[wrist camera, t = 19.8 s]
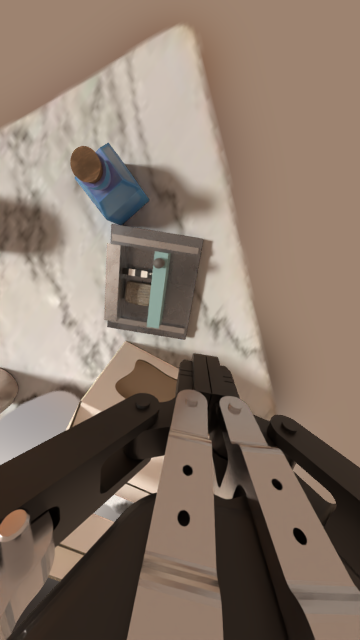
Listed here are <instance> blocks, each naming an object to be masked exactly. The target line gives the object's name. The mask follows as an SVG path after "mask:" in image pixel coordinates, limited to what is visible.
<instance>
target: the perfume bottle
mask: <svg viewBox="0 0 360 640" xmlns="http://www.w3.org/2000/svg"><path fill="white" fill-rule="evenodd" d="M71 168H72V171H73V173H74V175H75V179H76V181H77V182H78V183H79V184H80V186H81V187H82V188H83V190H84V191H85V192H86V194H87V195H88V196H89V197H90V199H91V200H92V201H93V203H94V204H95V205H96V207H97V208H98V209H99V210H100V212H101V213H102V214H103V216H104V217H105V218H106V220H108V221H111V222H113V223H116V224H118V225H123V224H124V223H125V222H126V221H127V220H128V219H129V218H130V217H132V216H133V215H134V214H135V213H136V212H137V211H138V210H139V209H140V208H142V207H143V206H144V205H145V204H146V203H147V202H148V201H149V199H148V197H147V196H146V194H145V193H144V191H143V190H142V189H141V187H140V186H139V184H138V183H137V181H136V180H135V179H134V177H133V176H132V174H131V173H130V171H129V170H128V169H127V167H126V166H125V164H124V163H123V162H122V160H121V159H120V157H119V156H118V155H117V153H116V152H115V151H114V149H113V148H112V147H111V145H110V144H109V143H107V144H105V145H104V146H102V147H100V148H99V149H98V150H97V151H96V152H94V151H93V150H92V149H91V148H89V147H86V146H81V147H78V148H77V149H75V150H74V152H73V153H72V156H71Z"/></svg>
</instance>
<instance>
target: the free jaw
mask: <svg viewBox="0 0 360 640" xmlns="http://www.w3.org/2000/svg"><path fill="white" fill-rule="evenodd" d="M170 256H171V253H165V252H159V251H155V254H154V262H153V273H152V282H151V291H150V300H149V310H148V319H147V327H152V328H158V329H159V326H160V324H161V322H162V316H163V309H164V301H165V294H166V286H167V279H168V271H169V264H170Z"/></svg>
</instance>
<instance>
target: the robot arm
mask: <svg viewBox="0 0 360 640" xmlns="http://www.w3.org/2000/svg"><path fill="white" fill-rule="evenodd" d="M17 393H18V385H17V383H16V381H15V379H14V378H13V377H12V376H11V375H10V374H9V373H8V372H6V371H5V370H3V369H1V368H0V413H1V412H3V411H4V410H5V409H6V408H7V407H8V406H10V405H11V404H12V403H13V402H14V400H13V399H14V398H15V397H16V395H17ZM208 434H209V439H208ZM164 455H165V456H164ZM159 456H164V461H163V466H162V471H161V475H160V480H159V485H158V490H157V492H156V493H153V494H150V495H147V496H145V497H143V498H141V499H139V500H138V501H136V502H135V503H133V504H132V505H131V506H130V507H129V508H127V509H126V510H125V511H124V512H123V513H122V514H121V515H120V517H119V518H118V519H117V520H116V521H115V522H114V523H113V524H112V525H111V526H110V527H109V529H108V530H107V531H106V532H105V533H104V534H103V535H102V536H101V537H100V538H99V539H98V540H97V542H96V543H95V544H94V545H93V546H92V547H91V548H90V549H89V550H88V551H87V552H86V554H85V555H84V556H83V557H82V558H81V559H80V560H79V561H78V562H77V563H76V564H75V565H74V567H73V568H72V569H71V570H70V571H69V572H68V573H67V574H66V575H65V576H64V577H63V579H62V580H61V581H60V582H59V583H58V584H57V585H56V586H55V587H54V589H52V591H51V592H50V593H49V594H48V595H47V596H46V597H45V598H44V599H43V600H42V601H41V602H40V604H39V605H38V606H37V607H36V608H35V609H34V610H33V611H32V612H31V613H30V614H29V615H28V617H27V618H26V619H25V620H24V621H23V622H22V623H21V624H20V625H19V626H18V627H17V629H16V630H15V631H14V632H13V633H12V634H11V632H12V630H13V628H14V626H15V624H16V622H17V620H18V618H19V617H20V615H21V613H22V612H23V611H24V609H25V608H26V606H27V605H28V604H29V603H30V601H31V600H32V599H33V598H34V597H35V595H36V594H37V593H38V592H39V590H40V589H41V588H42V586H43V585H44V583H45V581H46V579H47V578H48V575H49V573H50V571H51V568H52V565H53V562H54V557H55V547H57V546H58V545H59V544H60V543H61V542H62V541H63V540H64V539H65V538H66V537H68V536H69V535H70V534H71V533H72V532H73V531H74V530H75V529H76V528H78V527H79V526H80V525H81V524H82V523H83V522H84V521H85V520H86V519H87V518H89V517H90V516H91V515H92V514H93V513H94V512H95V511H96V510H97V509H98V508H100V507H101V506H102V505H103V504H104V503H105V502H106V501H107V500H108V499H110V498H111V497H112V496H113V495H114V494H115V493H116V492H117V491H118V490H119V489H121V488H122V487H123V486H124V485H125V484H126V483H127V482H128V481H129V480H130V479H132V478H133V477H134V476H135V475H136V474H137V473H138V472H139V471H140V470H142V469H143V468H144V467H145V466H146V465H147V464H148V463H149V462H150V460H151V458H153V457H159ZM296 463H297V464H298V465H299V466H301V467H302V468H303V469H304V470H305V471H306V472H308V473H309V474H310V475H311V476H312V477H313V478H314V479H315V480H317V481H318V482H319V483H320V484H321V485H322V486H323V487H325V488H326V489H327V490H328V491H329V492H330V493H331V494H332V496H333V497H334V499H335V501H336V504H331V503H329V502H327V501H325V500H324V499H323V498H322V497H321V496H320V495H319V494H317V493H316V492H315V491H314V490H313V489H312V488H311V487H310V486H309V485H308V484H306V482H304V481H303V480H302V479H301V478H300V477H299V476H298V475H297V474H296V473H295V472H293V468H294V466H295V464H296ZM213 486H214V490H213ZM214 493H215V494H214ZM0 640H360V468H359V467H358V466H356V465H355V464H354V463H352V462H351V461H350V460H348V459H347V458H346V457H344V456H343V455H341V454H340V453H339V452H337V451H336V450H334V449H333V448H332V447H330V446H329V445H328V444H326V443H325V442H323V441H322V440H321V439H319V438H318V437H317V436H315V435H314V434H312V433H311V432H310V431H308V430H307V429H305V428H304V427H303V426H301V425H300V424H299V423H297V422H296V421H294V420H293V419H291V418H289V417H286V416H283V415H274V416H273V417H272V418H271V420H270V421H267V420H265V419H262V418H260V417H257V416H255V415H253V414H252V412H251V410H250V408H249V406H248V405H247V404H246V403H245V402H244V401H243V400H241V399H240V398H239V395H238V392H237V389H236V386H235V384H234V380H233V379H232V375H231V372H230V371H229V370H228V369H227V368H226V367H225V366H220V363H219V360H218V357H214V356H208V355H201V354H195V353H193V355H192V360H191V361H188V360H183V361H182V362H181V363H180V367H179V372H178V378H177V384H176V392H175V398H173V399H172V400H170V401H166V402H159V400H158V399H157V398H156V397H155V396H153V395H151V394H148V393H137V394H134V395H132V396H130V397H128V398H126V399H125V400H123V401H121V402H119V403H117V404H115V405H113V406H111V407H109V408H108V409H106V410H104V411H102V412H100V413H98V414H96V415H94V416H92V417H91V418H89V419H87V420H85V421H83V422H81V423H79V424H77V425H75V426H74V427H72V428H70V429H68V430H66V431H64V432H62V433H60V434H58V435H57V436H55V437H53V438H51V439H49V440H47V441H45V442H44V443H41V444H40V445H38V446H36V447H34V448H32V449H30V450H28V451H26V452H25V453H23V454H21V455H19V456H17V457H15V458H13V459H11V460H9V461H8V462H6V463H4V464H2V465H0Z"/></svg>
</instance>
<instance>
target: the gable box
mask: <svg viewBox="0 0 360 640" xmlns="http://www.w3.org/2000/svg"><path fill="white" fill-rule="evenodd" d="M178 372H179V369H178V368H176V367H174V366H172V365H171V364H169V363H167V362H165V361H163V360H161V359H159V358H157V357H155V356H153V355H151V354H149V353H148V352H146V351H144V350H142V349H140V348H138V347H136V346H134V345H132V344H130V343H128V342H127V341H125V342H124V343H123V345H122V346H121V347H120V349H119V350H118V351H117V353H116V354H115V355H114V357H113V358H112V359H111V361H110V362H109V363H108V365H107V366H106V367H105V369H104V370H103V371H102V373H101V374H100V375H99V377H98V378H97V379H96V381H95V382H94V383H93V385H92V386H91V387H90V389H89V390H88V391H87V393H86V394H85V395H84V397H83V398H82V399H81V401H80V402H79V405H78V406H77V408H76V410H75V412H74V414H73V417H72V419H71V421H70V423H69V425H68V427H67V429H66V430H68V429H70V428H72V427H74V426H75V425H77V424H79V423H81V422H83V421H85V420H87V419H89V418H91V417H92V416H94V415H96V414H98V413H100V412H102V411H104V410H106V409H108V408H109V407H111V406H113V405H115V404H117V403H119V402H121V401H123V400H125V399H126V398H128V397H130V396H132V395H134V394H137V393H148V394H151V395H153V396H155V397H156V398H157V399H158V400H159V402H166V401H170V400H172V399H173V398H175V392H176V384H177V378H178ZM208 439H209V434H208ZM164 456H165V455H164ZM164 456H159V457H153V458H151V460H150V462H149V463H148V464H147V465H146V466H145V467H144V468H143V469H142V470H140V471H139V472H138V473H137V474H136V475H135V476H134V477H133V478H132V479H130V480H129V481H128V482H127V483H126V484H125V485H124V486H123V487H122V488H121V489H119V490H118V491H117V492H116V493H115V495H117V496H119V497H122V498H124V499H126V500H129V501H131V502H134V503H135V502H136V501H138V500H139V499H141V498H143V497H145V496H147V495H150V494H153V493H156V492H157V490H158V485H159V480H160V475H161V471H162V466H163V461H164ZM213 490H214V486H213ZM214 494H215V493H214ZM113 523H114V522H113V521H111V520H108V519H106V518H103V517H101V516H98V515H96V514H92V515H91V516H90V517H89V518H87V519H86V520H85V521H84V522H83V523H82V524H81V525H80V526H79V527H78V528H76V529H75V530H74V531H73V532H72V533H71V534H70V535H69V536H68V537H66V538H65V539H64V540H63V541H62V542H61V543H60V544H59V545H58V546H57V547H55V557H54V562H53V565H52V568H51V571H50V573H49V575H48V577H49V578H51V579H54V580H57V581H61V580H62V579H63V577H64V576H65V575H66V574H67V573H68V572H69V571H70V570H71V569H72V568H73V567H74V565H75V564H76V563H77V562H78V561H79V560H80V559H81V558H82V557H83V556H84V555H85V554H86V552H87V551H88V550H89V549H90V548H91V547H92V546H93V545H94V544H95V543H96V542H97V540H98V539H99V538H100V537H101V536H102V535H103V534H104V533H105V532H106V531H107V530H108V529H109V527H110V526H111V525H112V524H113Z"/></svg>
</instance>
